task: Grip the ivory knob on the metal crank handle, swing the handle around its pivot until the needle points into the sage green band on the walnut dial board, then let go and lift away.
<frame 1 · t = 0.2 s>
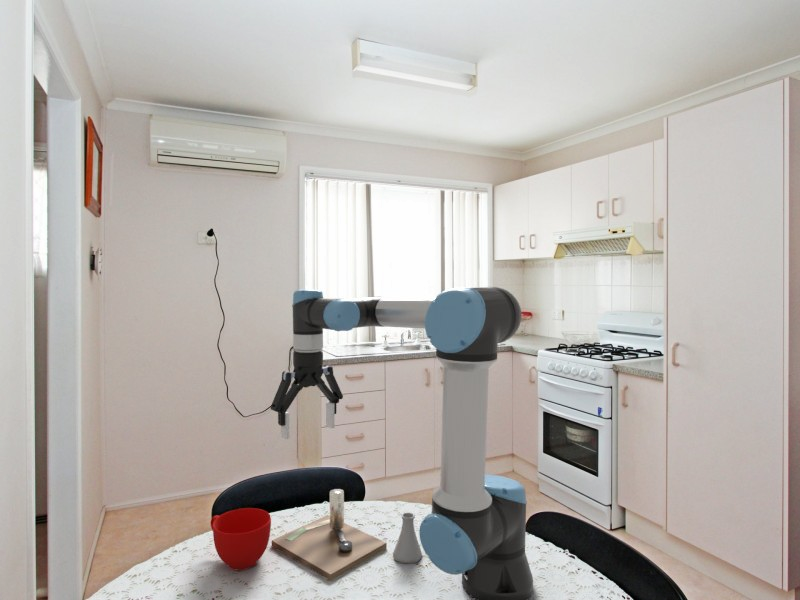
hand: (308, 432, 133), 27 cm above the table, tool pointing down, fingers open, 13 cm apart
dial board: (328, 547, 128), on the table
ceramic cup: (236, 560, 122), on the table
metal crank handle: (339, 516, 130), point 7 cm above the table, hinge at -30.0°
flask: (407, 556, 124), on the table
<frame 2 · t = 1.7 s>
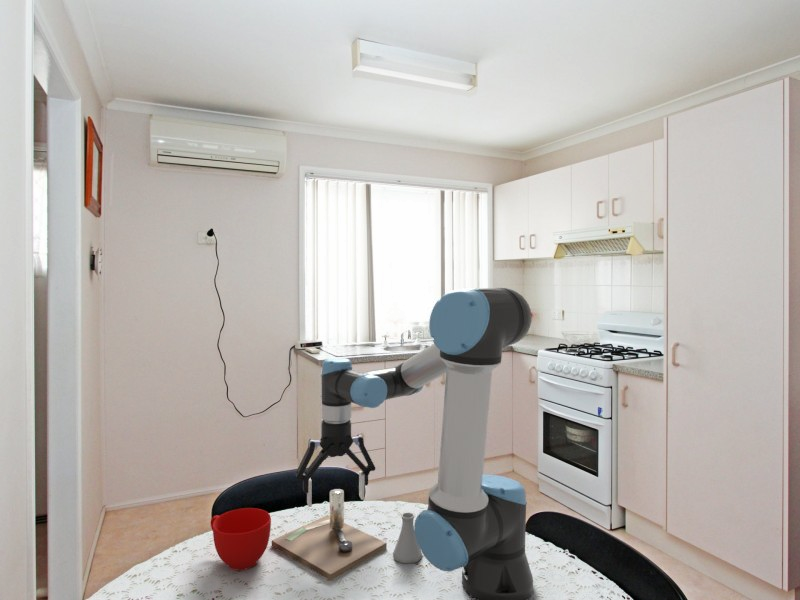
hand: (335, 501, 133), 9 cm above the table, tool pointing down, fingers open, 13 cm apart
nothing on the table moved.
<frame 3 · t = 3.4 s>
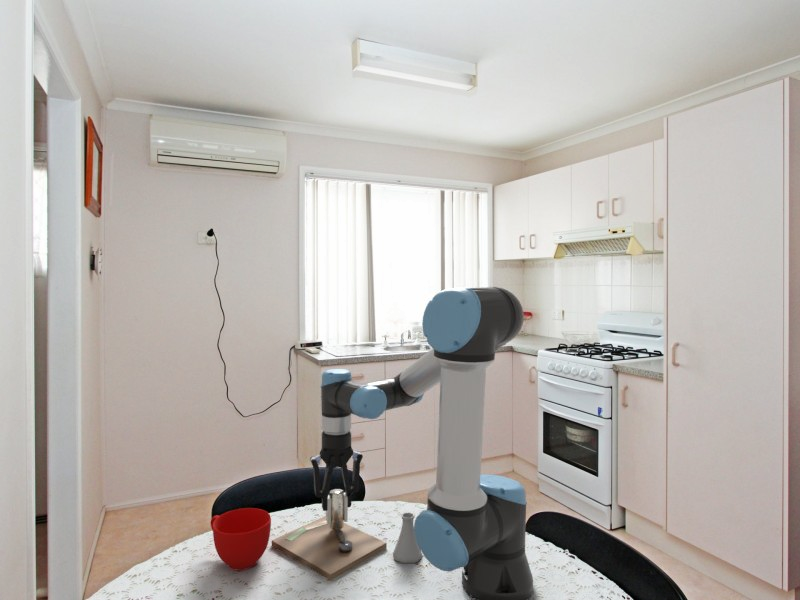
hand: (336, 520, 133), 4 cm above the table, tool pointing down, fingers closed on metal crank handle, 4 cm apart
metal crank handle: (339, 516, 130), point 7 cm above the table, hinge at -29.9°, touching gripper
everything else where it was.
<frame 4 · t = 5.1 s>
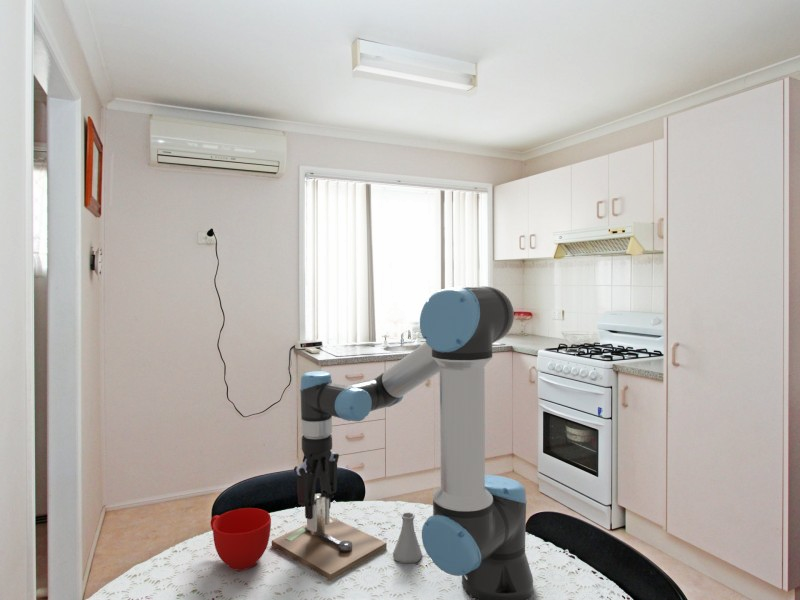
hand: (318, 526, 130), 4 cm above the table, tool pointing down, fingers closed on metal crank handle, 4 cm apart
metal crank handle: (327, 520, 128), point 7 cm above the table, hinge at 0.2°, touching gripper
everything else where it was.
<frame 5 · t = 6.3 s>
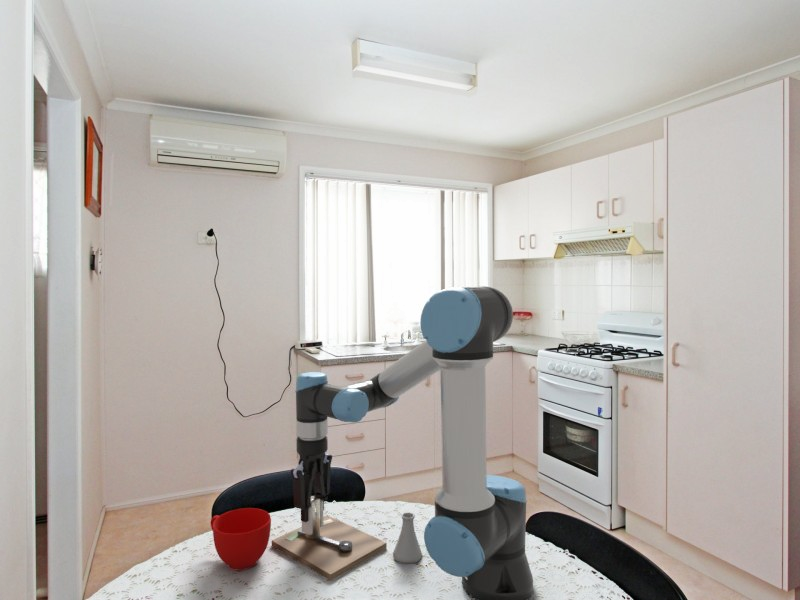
hand: (312, 528, 129), 4 cm above the table, tool pointing down, fingers closed on metal crank handle, 4 cm apart
metal crank handle: (324, 522, 127), point 7 cm above the table, hinge at 10.7°, touching gripper
everything else where it was.
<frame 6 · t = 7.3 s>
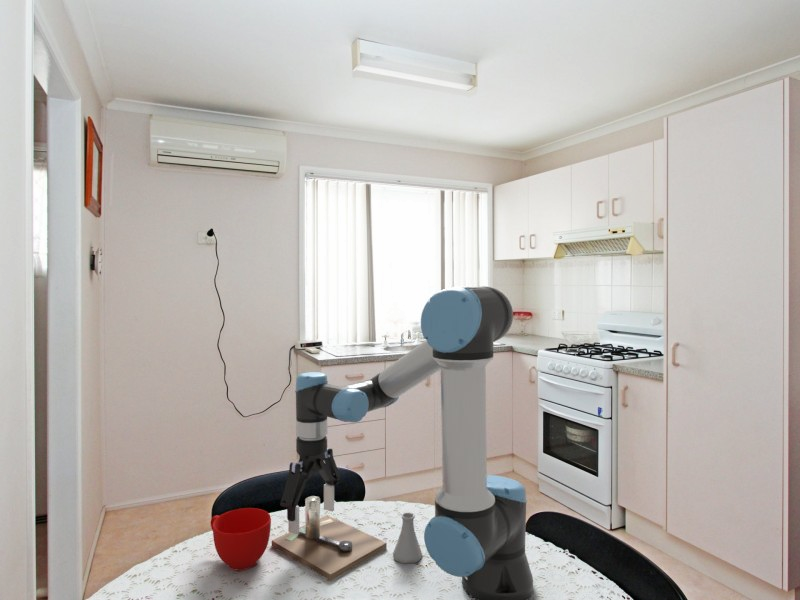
hand: (312, 520, 128), 6 cm above the table, tool pointing down, fingers open, 13 cm apart
metal crank handle: (324, 522, 127), point 7 cm above the table, hinge at 10.8°
everything else where it was.
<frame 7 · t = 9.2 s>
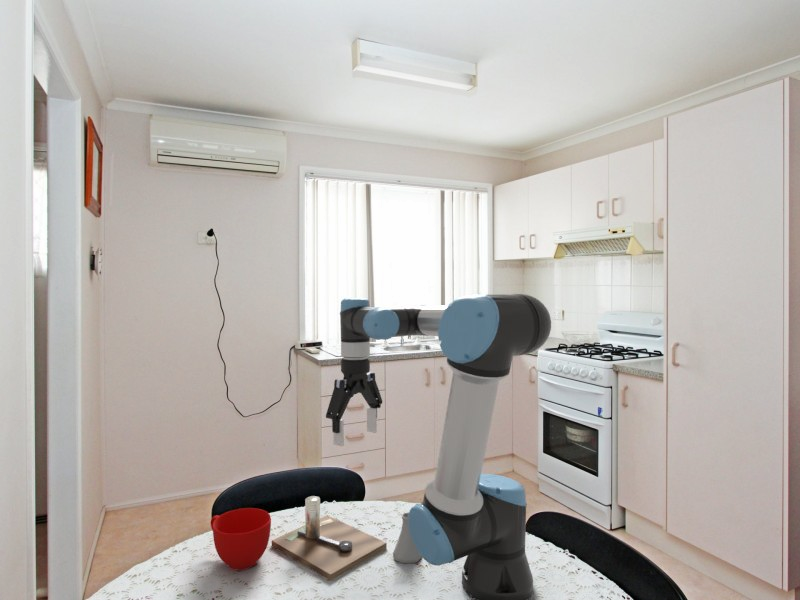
hand: (355, 438, 136), 24 cm above the table, tool pointing down, fingers open, 13 cm apart
nothing on the table moved.
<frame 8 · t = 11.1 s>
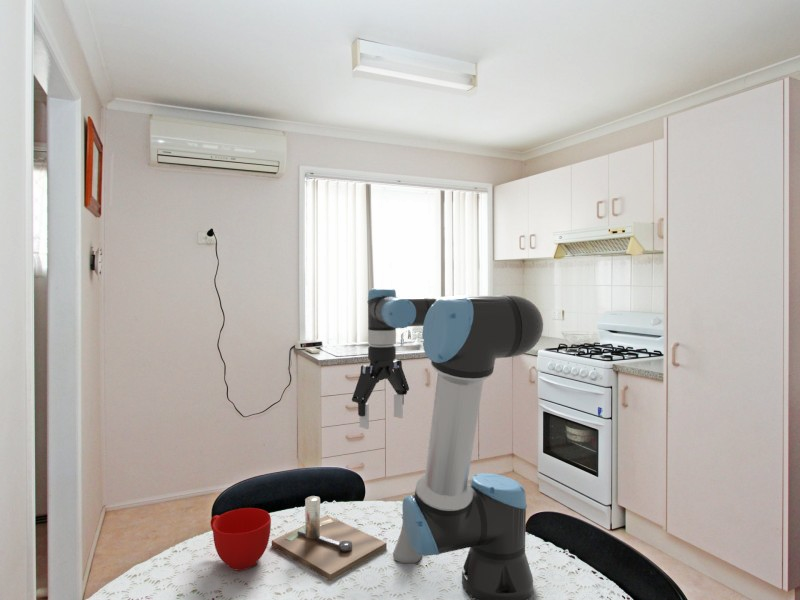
hand: (381, 422, 142), 27 cm above the table, tool pointing down, fingers open, 13 cm apart
nothing on the table moved.
at the end: metal crank handle at +11° (first picture: -30°); the gripper is holding nothing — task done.
